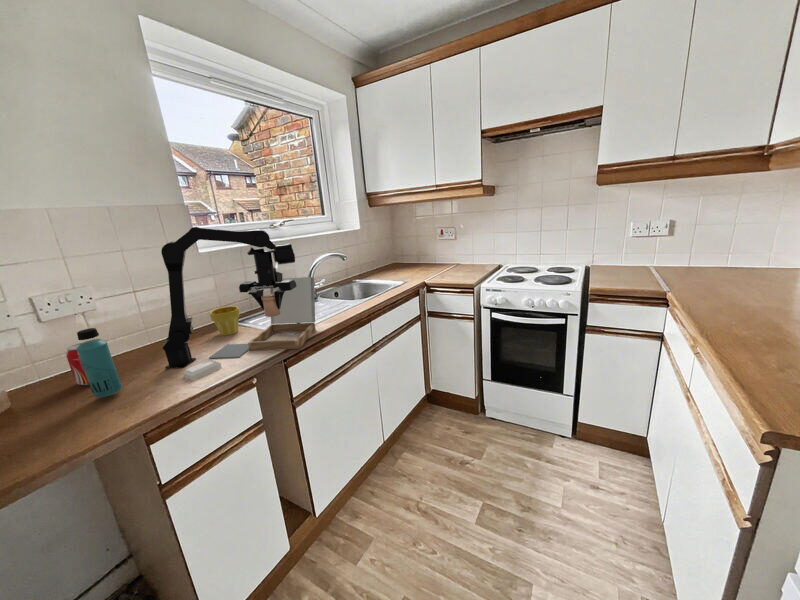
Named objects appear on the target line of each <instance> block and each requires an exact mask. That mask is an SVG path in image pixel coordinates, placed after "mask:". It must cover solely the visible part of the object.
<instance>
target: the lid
mask: <svg viewBox="0 0 800 600" xmlns="http://www.w3.org/2000/svg"><path fill="white" fill-rule="evenodd" d="M284 280H294V281H295V282H296V287H295V288H294V289H292V290H290V291H285V292H284V294H283V298H282V302H281V307H280V314H279V315H277V316H273V317H270V325H272V324H296V323H316V299H315V296H316V295H315V293H316V292H315V277H314V276H307V277H306V276H302V277H287V278H282V281H284ZM276 283H280V282H276ZM269 289H270V294H274V292H275V291H277V289H276V288H269Z"/></svg>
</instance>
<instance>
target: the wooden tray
mask: <svg viewBox="0 0 800 600" xmlns="http://www.w3.org/2000/svg"><path fill="white" fill-rule="evenodd" d="M316 330H317V329H316V322H308V323H285V324H270V325H269V326H267V327H266V328H265V329H264V330H262V331H260V333H258V334H257V335H256V336H254V337H253V338H252V339H251V340H249V341H248V342H247V344H248V346H249V350H248V351H250V352H251V351H273V350H275V351H278V350H277V349H283V350H300V348H301V347H302V346H303V345H305V343H306V341H307V340H308V339H309V338H310V337H311V336H312V335H313V334H314V332H316ZM291 331H296V332H302V333H301V334H300V335H299V336H298V337H297V338H296V339H286V340H285V339H284V340H280V339H279V340H267V338H269V337H270V336H272V334H274V333H292V332H291ZM312 333H313V334H312ZM311 334H312V335H311ZM310 335H311V336H310ZM309 336H310V337H309Z"/></svg>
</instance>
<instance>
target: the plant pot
mask: <svg viewBox="0 0 800 600" xmlns="http://www.w3.org/2000/svg"><path fill="white" fill-rule="evenodd" d="M239 309H240V308H239V307H238V306H235V305H231V306H230V305H229V306H223V307H219V308H215V309H212V310H211V311H210V312H209V316H210V319H211V321H212V322H213V323H214V324H215V326H216V328H217V331H218V332H219V334H220V336H230V335H233V334H235V333H237V332H238V331H239V317H240V316H241V315H240V310H239Z"/></svg>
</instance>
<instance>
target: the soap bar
mask: <svg viewBox="0 0 800 600" xmlns="http://www.w3.org/2000/svg"><path fill="white" fill-rule="evenodd" d="M221 368H222V364H221V362H219V361H215V360H212V359H208V360H205V361H204V362H203V361H202V362H201V363H198V364H196V365H193V366H191V367H188V368H187V369H185V370H184V371H183V372H182V374H183V375H182V376H183V378H186V379H188V380H190V381H195V380H197V379H199V378H201V377H203V376H205V375H208V374H210V373H213V372H215V371H217V370H219V369H221Z"/></svg>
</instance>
